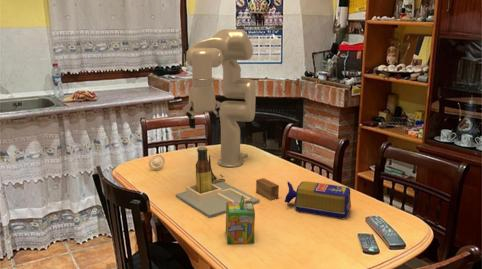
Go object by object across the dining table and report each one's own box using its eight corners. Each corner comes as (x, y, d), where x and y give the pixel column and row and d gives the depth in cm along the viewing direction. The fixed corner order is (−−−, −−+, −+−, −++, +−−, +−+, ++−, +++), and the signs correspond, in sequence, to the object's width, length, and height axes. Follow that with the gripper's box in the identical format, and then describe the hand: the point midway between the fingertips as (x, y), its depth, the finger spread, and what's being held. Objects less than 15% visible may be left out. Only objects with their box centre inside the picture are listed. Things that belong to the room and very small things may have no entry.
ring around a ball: (163, 167, 225) (162, 151, 223) (168, 171, 220) (167, 155, 218) (147, 170, 221) (147, 154, 219) (152, 174, 216) (151, 157, 214)
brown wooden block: (263, 191, 197) (263, 178, 196) (278, 199, 190) (278, 185, 188) (256, 193, 195) (256, 179, 194) (270, 201, 187) (271, 187, 186)
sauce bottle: (214, 193, 191) (214, 147, 186) (207, 198, 186) (206, 151, 180) (200, 190, 194) (200, 145, 189) (193, 196, 188) (192, 149, 183)
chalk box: (225, 231, 161) (225, 192, 157) (251, 231, 162) (252, 191, 158) (227, 245, 153) (227, 203, 149) (254, 244, 153) (255, 202, 149)
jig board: (223, 184, 205) (223, 175, 204) (259, 202, 186) (259, 192, 184) (175, 196, 191) (175, 187, 189) (209, 218, 171) (209, 207, 170)
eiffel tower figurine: (198, 188, 201) (197, 158, 198) (190, 180, 210) (189, 152, 207) (229, 182, 208) (229, 154, 204) (220, 175, 217) (220, 148, 213)
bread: (347, 221, 170) (349, 195, 167) (282, 210, 179) (283, 185, 176) (351, 210, 179) (353, 185, 176) (289, 200, 188) (290, 176, 185)
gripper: (215, 79, 186) (215, 121, 190) (177, 83, 175) (178, 127, 180) (226, 82, 180) (226, 124, 184) (188, 86, 170) (189, 131, 174)
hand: (203, 126), depth 182 cm, fingers open, 9 cm apart
